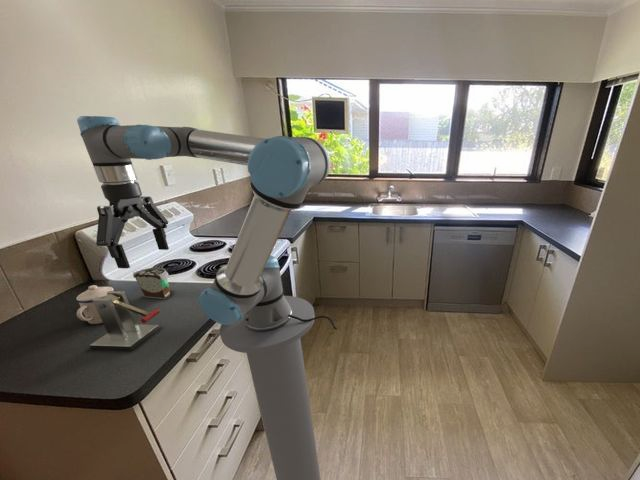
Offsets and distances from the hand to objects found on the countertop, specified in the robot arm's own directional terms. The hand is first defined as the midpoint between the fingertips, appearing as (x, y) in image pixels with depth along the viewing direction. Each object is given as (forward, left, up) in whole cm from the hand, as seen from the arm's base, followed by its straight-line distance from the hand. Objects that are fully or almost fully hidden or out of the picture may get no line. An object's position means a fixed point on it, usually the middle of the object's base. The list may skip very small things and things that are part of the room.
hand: (145, 257), depth 82 cm
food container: (+18, -19, -24) cm, 35 cm away
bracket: (+8, +7, -23) cm, 26 cm away
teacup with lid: (+25, -2, -24) cm, 34 cm away
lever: (+4, +7, -14) cm, 16 cm away
